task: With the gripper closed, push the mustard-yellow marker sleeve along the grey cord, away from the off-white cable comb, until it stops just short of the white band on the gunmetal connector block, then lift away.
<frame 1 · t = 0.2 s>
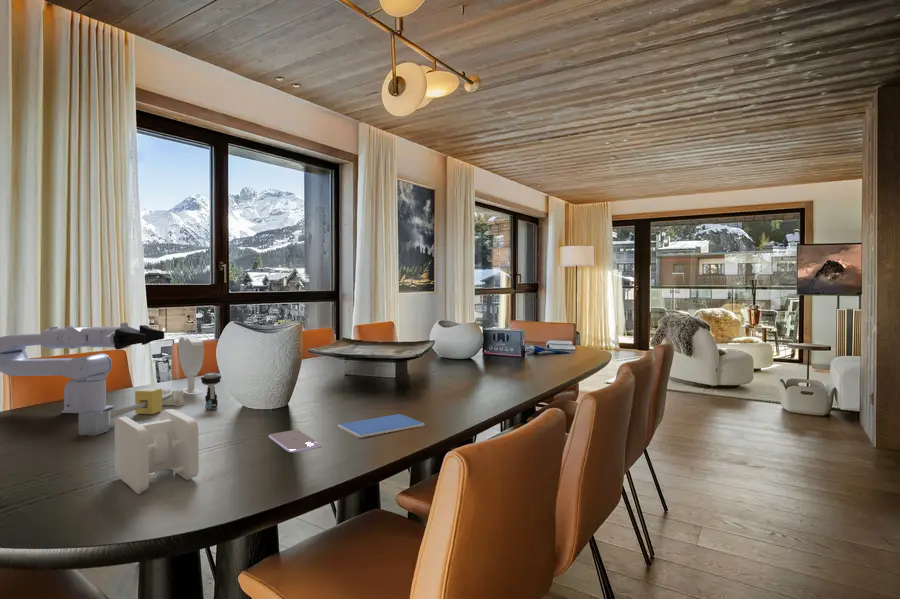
hand: (154, 336, 142), 21 cm above the table, tool horizontal, fingers open, 7 cm apart
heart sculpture: (191, 391, 171), on the table
cable comb: (171, 405, 152), on the table
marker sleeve: (148, 400, 142), point 3 cm above the table, slide at 0.0 cm
tablet computer: (381, 429, 132), on the table
connector: (94, 433, 123), on the table
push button: (211, 409, 148), on the table
mobile phone: (294, 443, 118), on the table
cable organizer: (157, 480, 95), on the table
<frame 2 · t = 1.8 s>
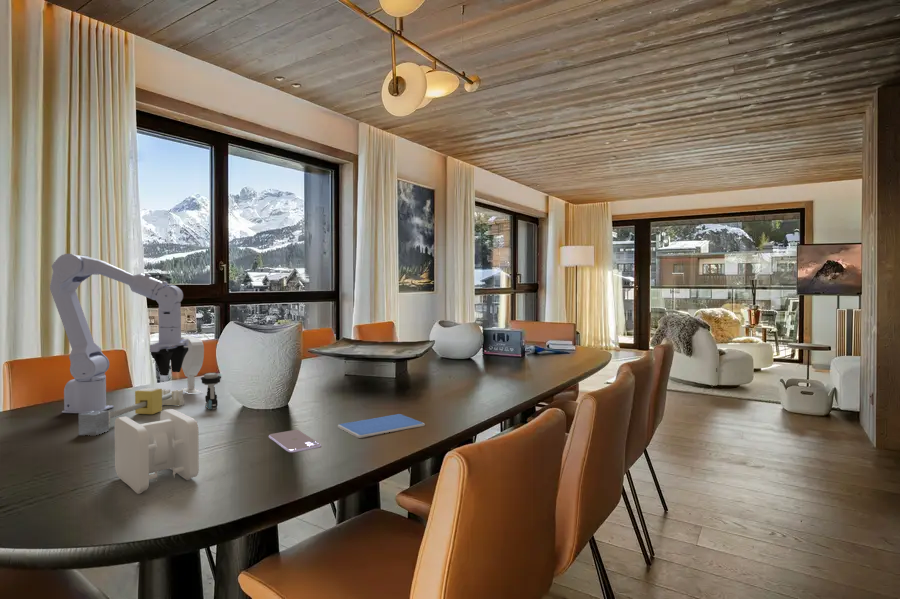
hand: (170, 373, 149), 10 cm above the table, tool pointing down, fingers open, 5 cm apart
nothing on the table moved.
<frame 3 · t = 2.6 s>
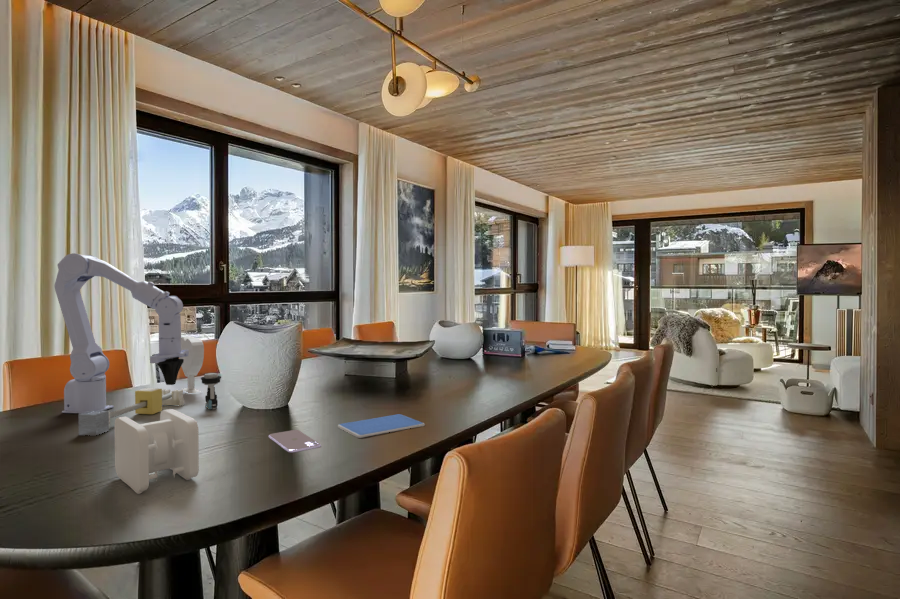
hand: (170, 384, 149), 7 cm above the table, tool pointing down, fingers closed
nothing on the table moved.
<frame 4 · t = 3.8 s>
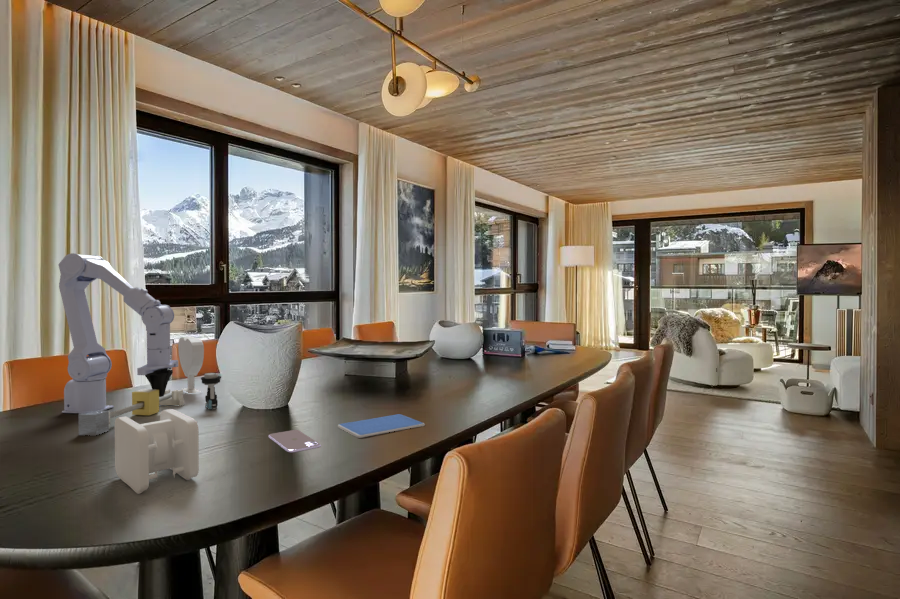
hand: (159, 396, 144), 4 cm above the table, tool pointing down, fingers closed
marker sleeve: (145, 401, 141), point 3 cm above the table, slide at 1.2 cm, touching gripper
everything else where it was.
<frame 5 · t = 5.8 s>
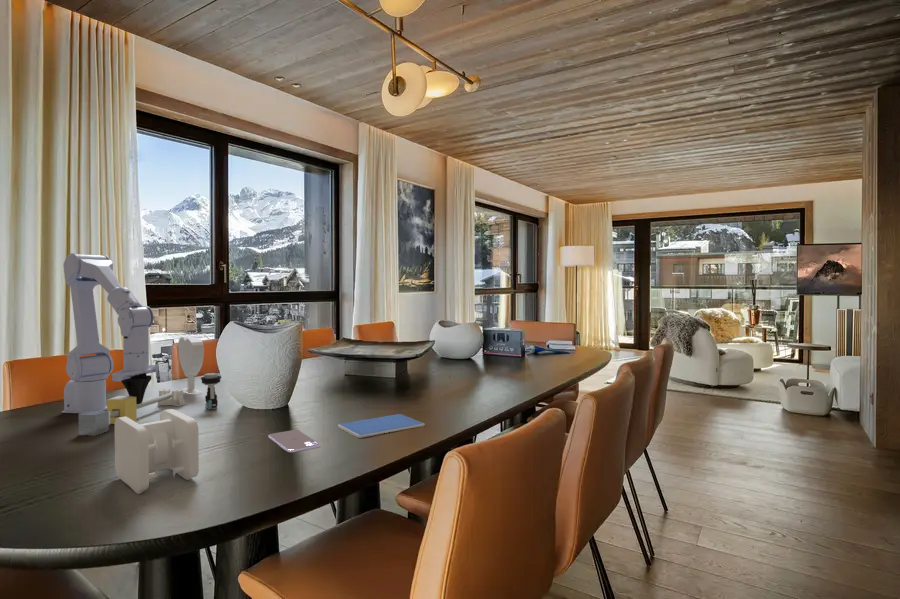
hand: (136, 403, 135), 4 cm above the table, tool pointing down, fingers closed
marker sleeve: (121, 409, 132), point 3 cm above the table, slide at 10.0 cm, touching gripper
everything else where it was.
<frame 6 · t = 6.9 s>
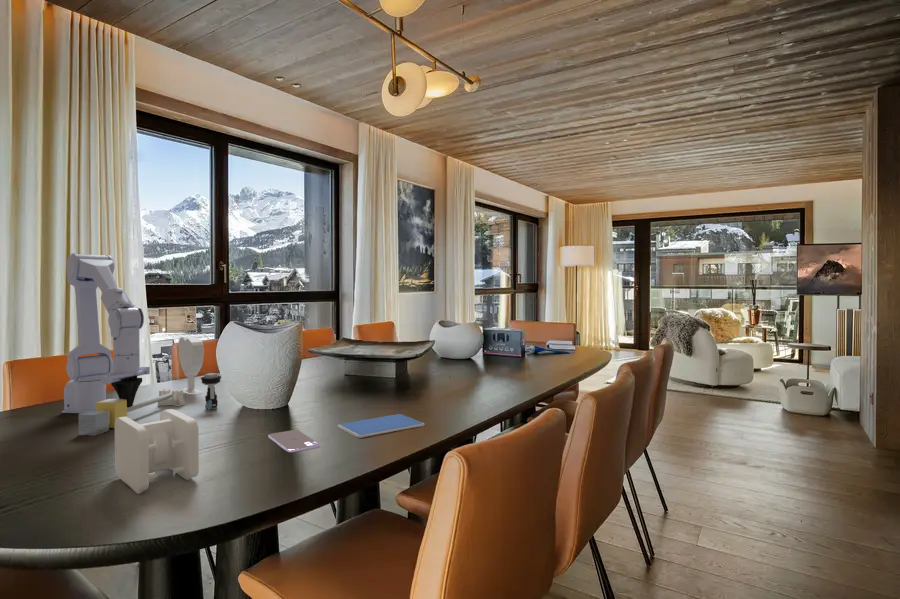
hand: (127, 406, 132), 4 cm above the table, tool pointing down, fingers closed
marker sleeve: (111, 412, 129), point 3 cm above the table, slide at 13.5 cm, touching gripper
everything else where it was.
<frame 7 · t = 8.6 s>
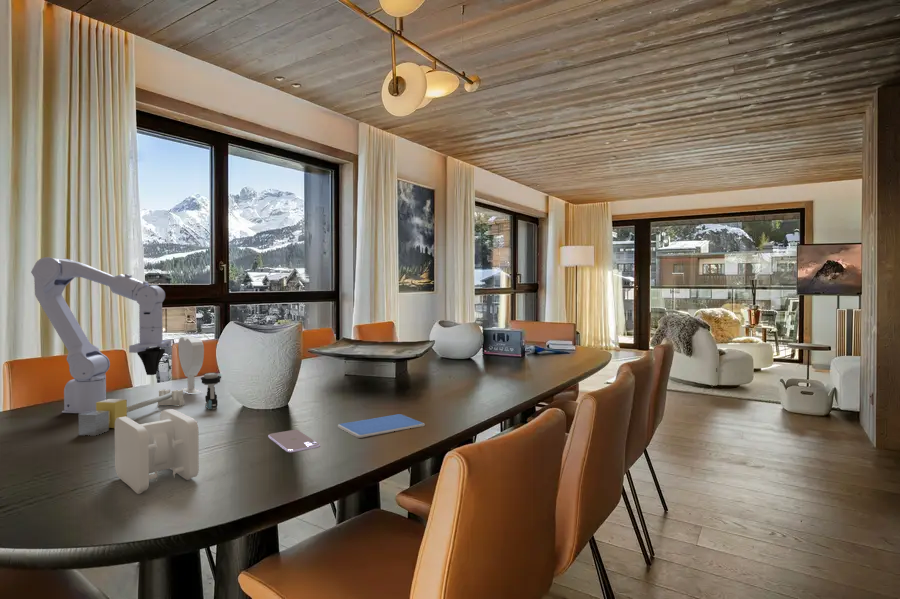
hand: (151, 374, 147), 10 cm above the table, tool pointing down, fingers closed
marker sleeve: (111, 412, 129), point 3 cm above the table, slide at 13.5 cm
everything else where it was.
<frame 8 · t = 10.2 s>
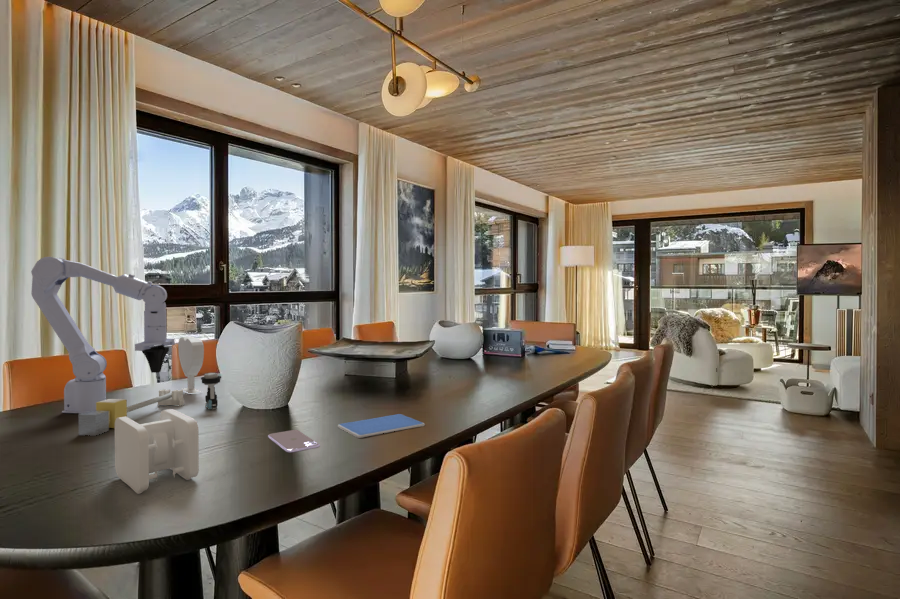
hand: (155, 372, 151), 10 cm above the table, tool pointing down, fingers closed
nothing on the table moved.
at the end: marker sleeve slide at 13.5 cm; the gripper is holding nothing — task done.
